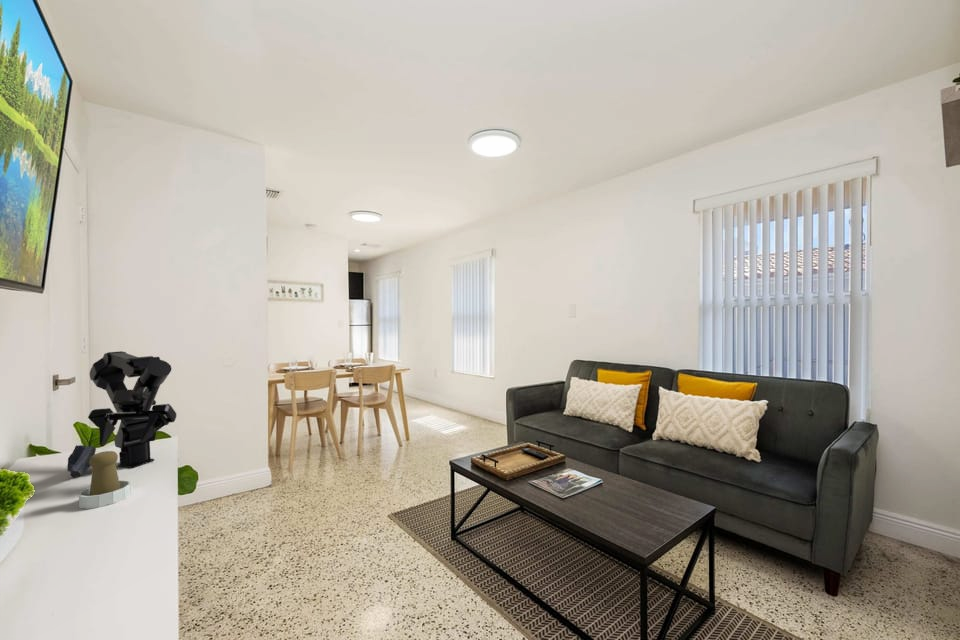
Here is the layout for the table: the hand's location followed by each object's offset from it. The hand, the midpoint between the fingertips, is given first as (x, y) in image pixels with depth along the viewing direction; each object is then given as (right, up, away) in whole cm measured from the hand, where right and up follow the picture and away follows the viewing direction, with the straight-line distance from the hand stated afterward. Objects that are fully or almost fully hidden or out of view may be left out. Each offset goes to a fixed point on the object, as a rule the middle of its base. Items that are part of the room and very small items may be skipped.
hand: (121, 443), depth 109 cm
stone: (-20, -12, +10) cm, 25 cm away
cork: (+2, -11, -7) cm, 13 cm away
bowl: (+2, -12, -7) cm, 14 cm away
